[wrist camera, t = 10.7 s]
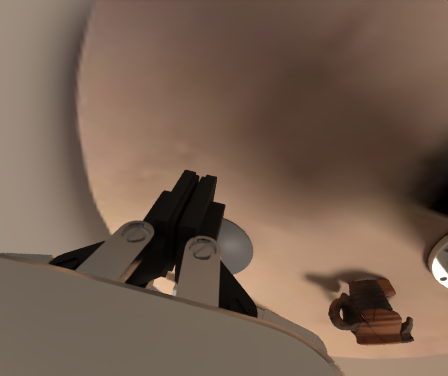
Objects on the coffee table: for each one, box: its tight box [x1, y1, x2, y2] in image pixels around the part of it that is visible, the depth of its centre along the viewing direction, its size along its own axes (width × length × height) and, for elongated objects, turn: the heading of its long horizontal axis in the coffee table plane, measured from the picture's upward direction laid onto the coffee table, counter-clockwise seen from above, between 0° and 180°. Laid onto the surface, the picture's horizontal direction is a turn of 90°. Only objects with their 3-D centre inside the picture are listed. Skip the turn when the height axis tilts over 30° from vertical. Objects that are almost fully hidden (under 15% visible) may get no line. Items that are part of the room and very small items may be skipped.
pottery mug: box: [328, 279, 414, 345], centre depth 38 cm, size 12×9×8 cm
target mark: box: [217, 218, 253, 275], centre depth 39 cm, size 13×13×1 cm
